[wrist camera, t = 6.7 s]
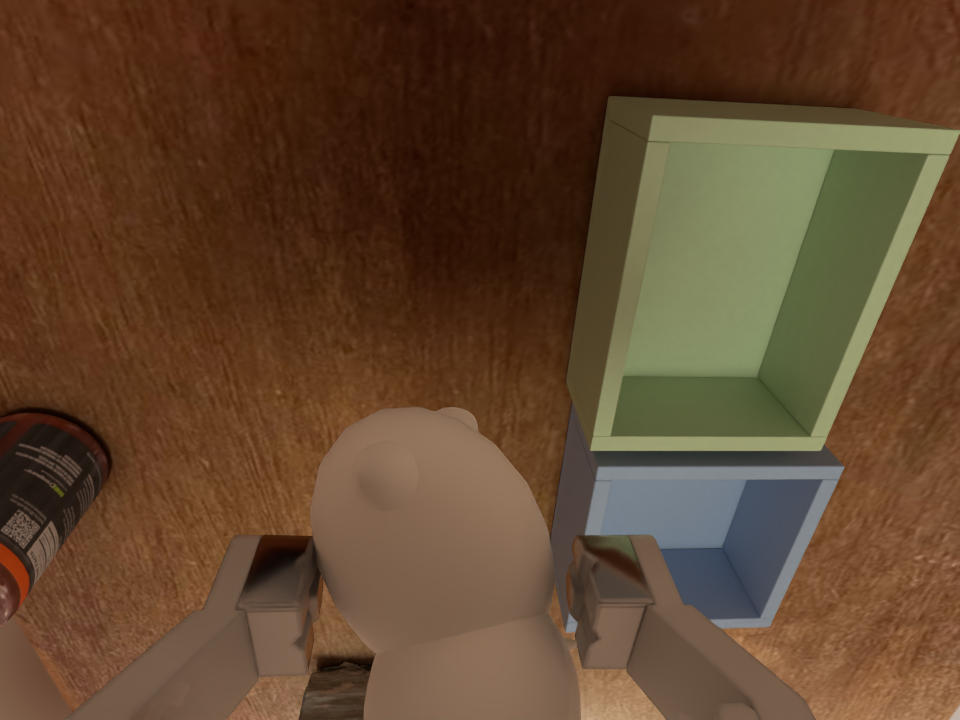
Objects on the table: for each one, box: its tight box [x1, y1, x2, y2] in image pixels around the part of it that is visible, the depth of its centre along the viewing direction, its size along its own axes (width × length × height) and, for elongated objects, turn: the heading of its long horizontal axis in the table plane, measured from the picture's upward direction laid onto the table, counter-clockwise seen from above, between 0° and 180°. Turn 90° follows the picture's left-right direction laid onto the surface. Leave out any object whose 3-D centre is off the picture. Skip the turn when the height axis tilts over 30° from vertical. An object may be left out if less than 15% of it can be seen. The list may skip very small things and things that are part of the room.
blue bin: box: [550, 401, 844, 632], centre depth 32 cm, size 12×12×6 cm
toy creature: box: [310, 407, 581, 720], centre depth 11 cm, size 5×8×6 cm, turn 16°
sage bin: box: [566, 96, 960, 451], centre depth 25 cm, size 14×11×6 cm
